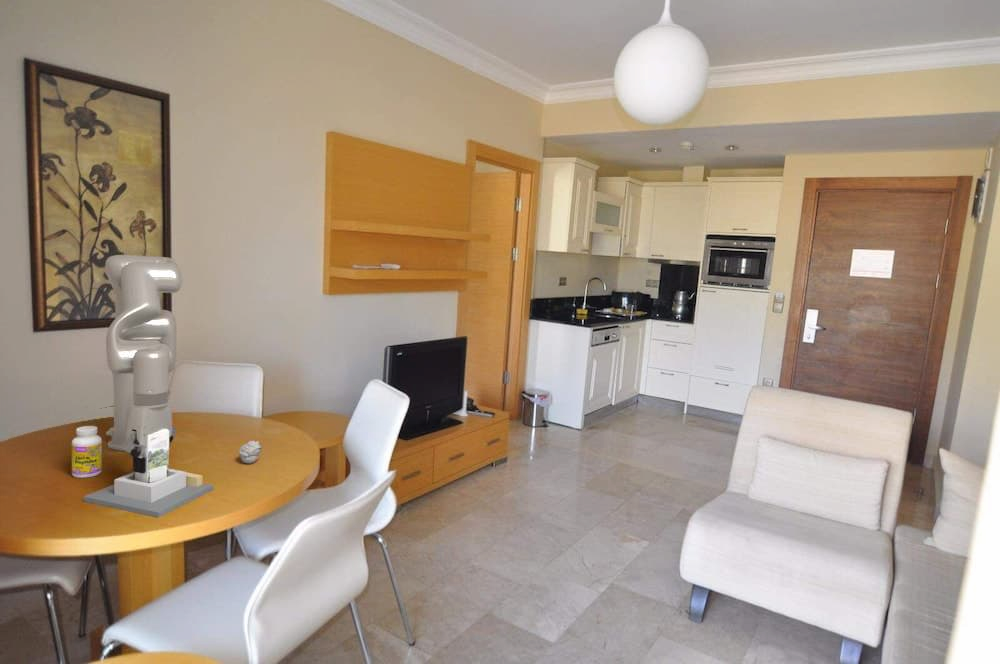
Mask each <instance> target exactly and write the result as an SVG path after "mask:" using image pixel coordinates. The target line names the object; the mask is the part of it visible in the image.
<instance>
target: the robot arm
mask: <svg viewBox="0 0 1000 664" xmlns="http://www.w3.org/2000/svg"><path fill="white" fill-rule="evenodd" d="M104 267H105V272H106V276H107V279H108V280H109V283H110V285H111V287H112V289H113V292H114V296H115V299H114V301H115V303H114V304H115V318H114V320H113V321H112V322H111V324H109V327H108V329H107V331H106V335H105V350H106V351H105V352H106V363H107V367H108V369H109V371H111V375H112V383H113V384H112V385H113V386H112V387H113V426H112V427H110V428H109V430H107V431H106V432H105V435H106V436H109V437H111V439H110V440H109V441H108V442H107V448H109V449H111V450H114V451H123V452H124V451H125V452H126V453H127V454H128V455H130V456H129V457H132V471H134V472H138V473H145V471H146V458H145V457H143V456H144V453H145V446H147V440H148V435H150V434H153V433H156V432H159V431H161V430H164V429H168V430H169V449H170V448H171V443H172V442H173V440H174V437H175V435H176V434H177V432H178V429H177V428H176V427H175V426H173V415H172V407H171V402H170V401H169V395H170V393H171V392H170V390H169V373H172V372H174V370H175V368H176V366H177V321H176V317H175V315H174V313H173V312H172V311H170V310H167V309H162V308H161V300H160V293H161V294H162V293H163V294H164V293H166V294H167V293H169V294H174V293H175V294H176V293H178V292H179V291H180V290H181V288H182V285H183V280H182V279H183V277H182V276H183V275H182V272H181V269H180V267H179V266H178V264H177V263H176V262H175V260H174V259H173V258H171V257H168V256H167V257H165V256H152V255H151V256H149V255H136V254H135V255H134V254H115V255H110V256H109V257H107V259H106V260H105V266H104ZM119 340H122V341H127V342H128V341H130V342H131V341H133V342H134V341H135V342H137V341H139V342H140V341H147V342H148V341H157V342H159V343H120V342H119ZM139 447H141V448H140V451H139V452H138V451H137V450H138V448H139Z"/></svg>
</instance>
